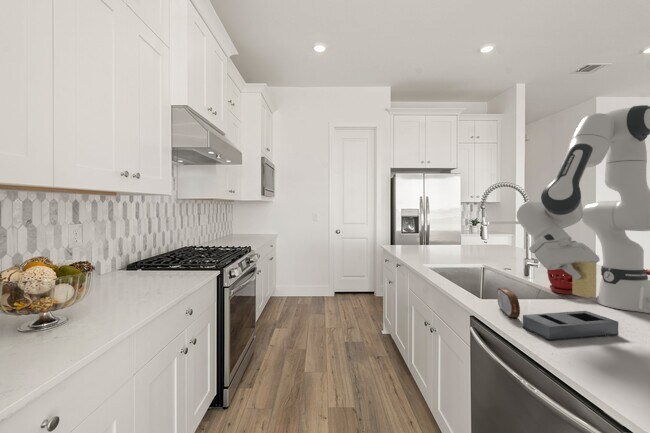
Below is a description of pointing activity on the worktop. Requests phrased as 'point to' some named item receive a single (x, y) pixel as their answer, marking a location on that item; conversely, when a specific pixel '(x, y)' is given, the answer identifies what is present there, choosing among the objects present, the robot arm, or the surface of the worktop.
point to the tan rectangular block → (585, 279)
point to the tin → (508, 302)
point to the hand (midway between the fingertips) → (586, 277)
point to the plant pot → (560, 281)
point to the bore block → (570, 325)
